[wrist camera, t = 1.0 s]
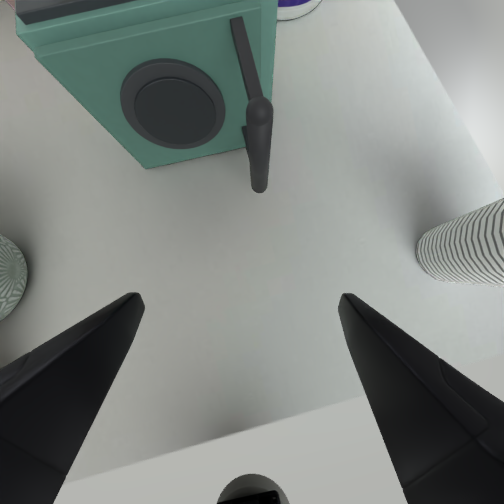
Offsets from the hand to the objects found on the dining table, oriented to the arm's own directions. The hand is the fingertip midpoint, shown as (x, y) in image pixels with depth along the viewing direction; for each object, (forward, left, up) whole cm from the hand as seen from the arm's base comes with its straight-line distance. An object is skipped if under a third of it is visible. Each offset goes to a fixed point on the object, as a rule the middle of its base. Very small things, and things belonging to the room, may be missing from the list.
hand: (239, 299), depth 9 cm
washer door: (+13, +2, -12) cm, 18 cm away
